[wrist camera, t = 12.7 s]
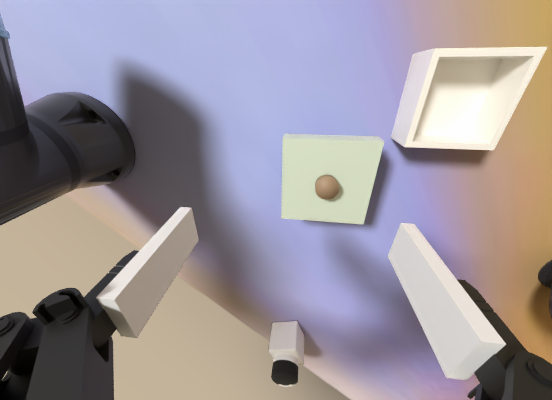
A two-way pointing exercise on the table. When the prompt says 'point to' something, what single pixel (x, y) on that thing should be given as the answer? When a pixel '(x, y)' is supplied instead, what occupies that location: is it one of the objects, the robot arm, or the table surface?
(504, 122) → the dish
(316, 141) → the lid
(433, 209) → the table surface
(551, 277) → the pitcher
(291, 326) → the medicine bottle
